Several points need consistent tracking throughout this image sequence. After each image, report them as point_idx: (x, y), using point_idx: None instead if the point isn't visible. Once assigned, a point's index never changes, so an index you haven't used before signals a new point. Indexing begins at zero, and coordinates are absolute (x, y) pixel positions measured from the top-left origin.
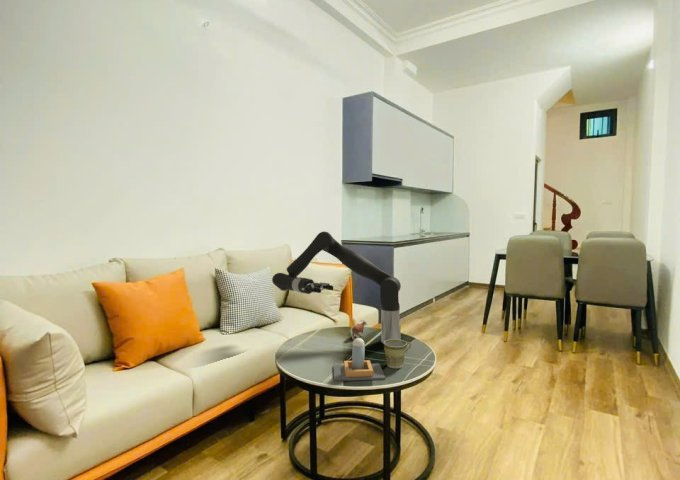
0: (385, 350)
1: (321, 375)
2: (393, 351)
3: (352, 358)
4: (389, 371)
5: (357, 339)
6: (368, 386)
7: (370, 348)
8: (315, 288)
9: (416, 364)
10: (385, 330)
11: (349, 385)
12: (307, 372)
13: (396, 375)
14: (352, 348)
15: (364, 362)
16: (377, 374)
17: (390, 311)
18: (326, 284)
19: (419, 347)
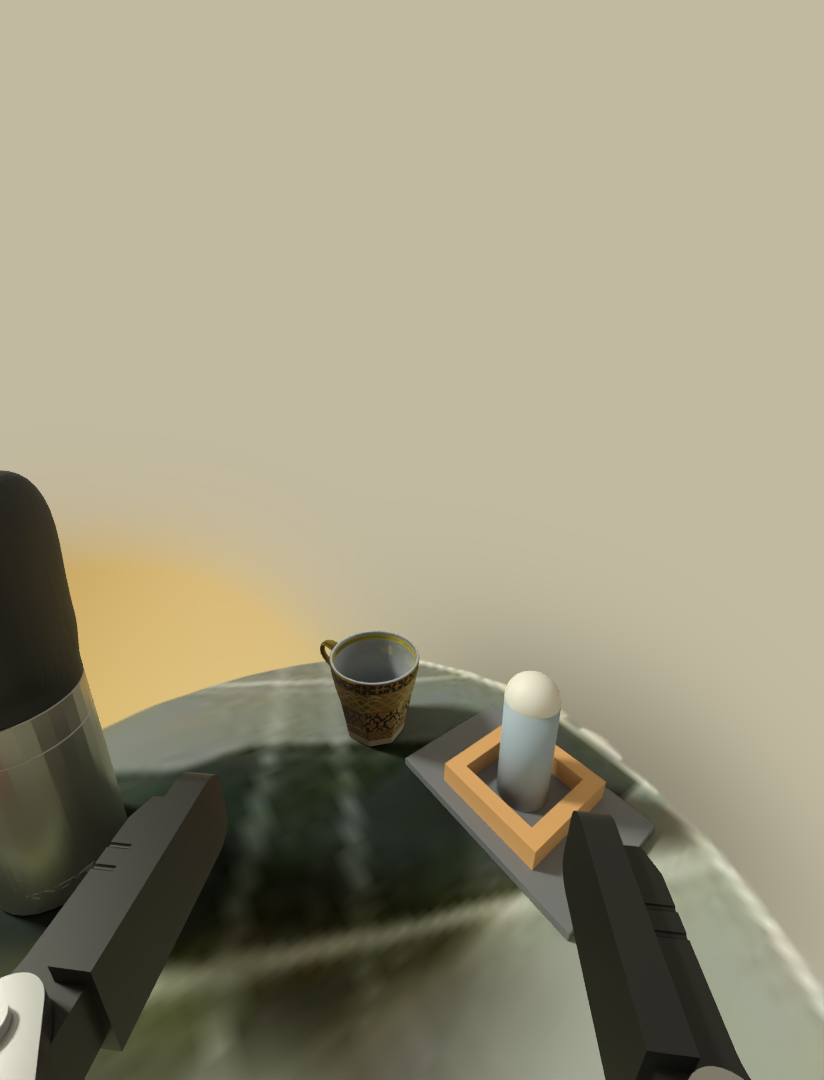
0: (407, 691)
1: (687, 923)
2: (413, 663)
3: (552, 760)
4: (432, 720)
5: (545, 677)
6: (568, 723)
7: (198, 911)
8: (668, 999)
9: (332, 685)
10: (98, 798)
11: (619, 768)
12: (763, 1045)
13: (445, 697)
14: (555, 727)
15: (472, 774)
16: (493, 726)
17: (83, 675)
18: (13, 1024)
19: (147, 724)
